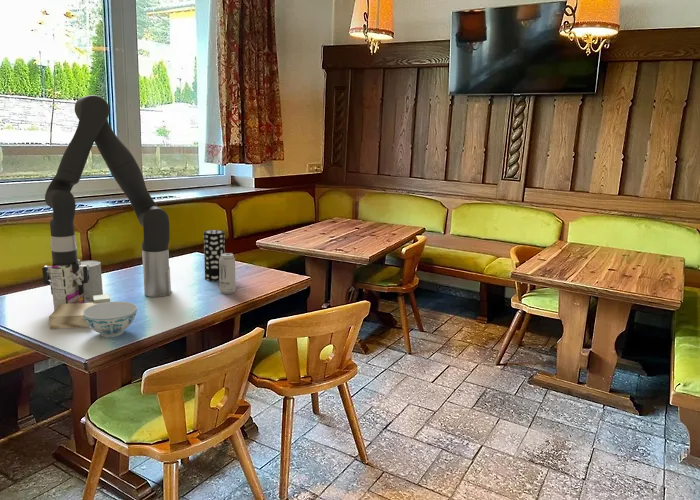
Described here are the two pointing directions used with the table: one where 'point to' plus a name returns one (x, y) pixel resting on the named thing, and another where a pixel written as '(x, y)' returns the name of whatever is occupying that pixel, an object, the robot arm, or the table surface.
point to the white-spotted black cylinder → (213, 253)
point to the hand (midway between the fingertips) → (68, 295)
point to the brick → (101, 298)
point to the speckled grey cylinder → (92, 279)
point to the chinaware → (110, 317)
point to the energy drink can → (227, 273)
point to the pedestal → (69, 316)
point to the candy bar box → (64, 285)
